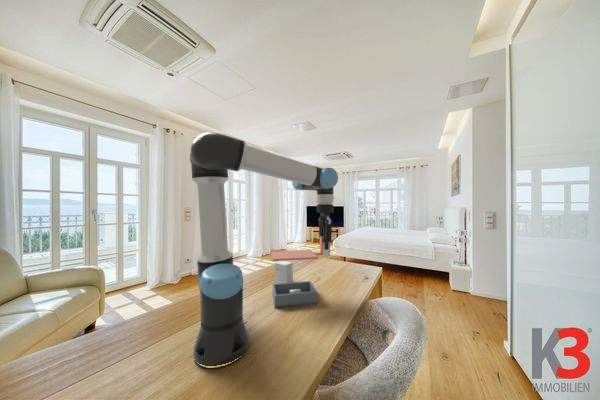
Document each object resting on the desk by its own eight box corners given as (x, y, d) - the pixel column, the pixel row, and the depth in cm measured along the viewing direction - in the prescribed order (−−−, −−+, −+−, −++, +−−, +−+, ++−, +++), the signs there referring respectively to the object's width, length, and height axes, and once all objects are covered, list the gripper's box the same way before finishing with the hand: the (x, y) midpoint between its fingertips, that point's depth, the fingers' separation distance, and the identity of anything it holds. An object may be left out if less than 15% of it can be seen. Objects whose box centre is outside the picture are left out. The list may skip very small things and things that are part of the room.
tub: (274, 308, 85) (274, 295, 85) (272, 295, 96) (272, 284, 96) (317, 303, 88) (317, 291, 88) (310, 291, 100) (310, 281, 100)
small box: (293, 282, 112) (292, 262, 112) (286, 285, 107) (286, 265, 107) (281, 279, 116) (281, 260, 116) (274, 282, 111) (274, 262, 111)
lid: (272, 261, 84) (273, 241, 84) (270, 253, 97) (270, 235, 97) (334, 258, 89) (334, 239, 89) (324, 250, 102) (324, 234, 102)
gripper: (339, 204, 88) (339, 259, 88) (327, 203, 104) (327, 251, 104) (322, 204, 87) (322, 260, 87) (312, 203, 102) (312, 251, 102)
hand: (324, 255), depth 95 cm, fingers closed on lid, 2 cm apart
